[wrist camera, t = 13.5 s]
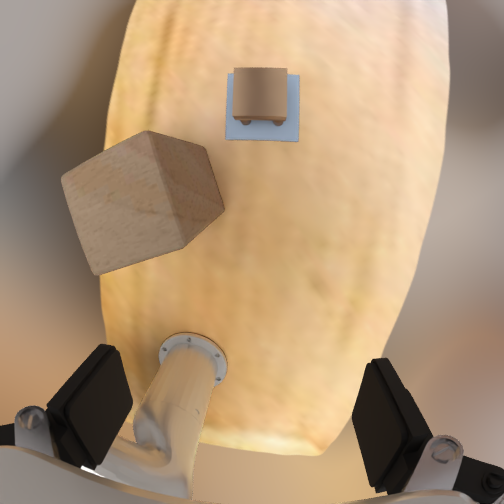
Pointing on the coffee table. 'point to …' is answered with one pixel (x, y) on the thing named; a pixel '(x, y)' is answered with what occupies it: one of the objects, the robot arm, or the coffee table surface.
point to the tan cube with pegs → (260, 95)
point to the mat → (265, 127)
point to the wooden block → (141, 200)
